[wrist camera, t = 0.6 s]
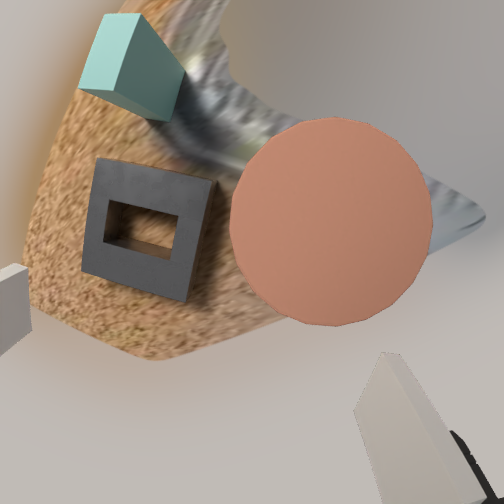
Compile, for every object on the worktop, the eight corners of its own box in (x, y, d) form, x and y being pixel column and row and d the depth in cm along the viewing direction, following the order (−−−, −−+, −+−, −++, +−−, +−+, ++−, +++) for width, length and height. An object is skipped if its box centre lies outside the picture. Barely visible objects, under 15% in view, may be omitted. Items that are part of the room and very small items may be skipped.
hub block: (114, 159, 32) (97, 157, 28) (217, 180, 32) (211, 181, 28) (97, 261, 35) (81, 271, 31) (193, 289, 35) (185, 302, 31)
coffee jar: (310, 270, 34) (354, 359, 17) (225, 214, 33) (186, 256, 16) (366, 188, 32) (465, 203, 15) (283, 128, 31) (309, 74, 13)
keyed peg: (159, 67, 30) (104, 13, 16) (185, 70, 30) (140, 13, 16) (144, 118, 31) (77, 88, 17) (170, 122, 31) (113, 90, 17)
